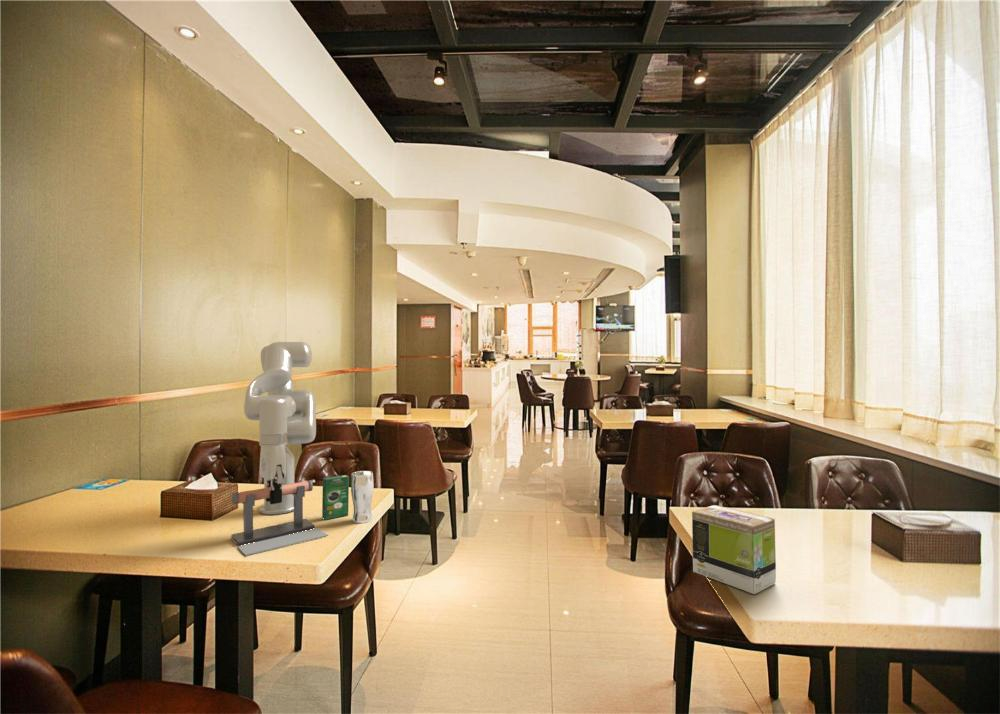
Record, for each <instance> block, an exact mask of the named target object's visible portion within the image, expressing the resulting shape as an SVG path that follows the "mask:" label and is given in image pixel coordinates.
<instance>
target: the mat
mask: <svg viewBox="0 0 1000 714" xmlns="http://www.w3.org/2000/svg"><path fill="white" fill-rule="evenodd" d="M326 536H328V537H329V534H327V533H326V532H325V531H323V530H321V529H320V528H318V527H317V528H316V527H315V529H312V530H307V531H303V532H298V533H294V534H290V535H285V536H281V537H277V538H272V539H268V540H263V541H259V542H255V543H250V544H246V545H242V546H238V545H237V549H238V550H239V551H240V552H241V553H242V554H243V555H244V557H249V556H253V555H257V554H261V553H265V552H270V551H273V550H278V549H281V548H287V547H290V546H289V545H291V546H294V545H293V544H295V545H297V544H296V543H299V544H301V543H300V542H303V543H305V542H304V541H307V542H309V541H308V540H311V541H313V540H312V539H315V540H319V539H323V538H322V537H324V538H327V537H326ZM318 538H319V539H318ZM286 546H287V547H286Z"/></svg>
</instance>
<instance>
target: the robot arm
mask: <svg viewBox="0 0 1000 714" xmlns="http://www.w3.org/2000/svg"><path fill="white" fill-rule="evenodd" d="M312 351H313V350H312V348H311V345H309V343H307V342H305V341H275V342H272V343H270V344H268V345H266V346H264V347H262V349H261V351H260V363H261V367H262V371H263V372H262V373H260V374H259V375H258V376H256V377H255V378H254V379H253V380H252V381H251V382H250V383H249V385H248V386H247V388H246V391H245V396H244V403H243V412H244V416H245V418H247V420H250V421H259V423H258V425H259V426H258V427H259V428H258V429H259V430H258V431H259V432H258V433H259V434H258V435H259V436H258V437H259V439H258V441H259V446H260V453H259V454H260V456H259V476H260V477H261V478H263V484H264V485H263V486H264V487H263V488H269V487H271V490H270V498H267V499H263V500H264V504H263V505H261V506H260V507H259V510H258V511H259V513H260V514H262V515H271V516H272V515H282V514H287V513H292V512H294V495H292V494H289V495H283V496H282V485H287V484H293V483H295V456H294V454H293V452H292V451H291V450H290V449H289V448H288V446H287V445H298V444H300V445H301V444H310V443H312V442H313V441H315V438H316V436H317V410H316V409H317V408H316V407H317V406H316V404H317V403H316V398H315V395H314V393H313V392H312V391H311V390H306V389H305V390H300V389H299V390H295V389H294V384H295V383H294V379H293V378H292V371H293V370H292V368H308V367H309V366H311V363H312V360H313V352H312ZM265 393H267V395H263V394H265ZM291 511H292V512H291Z"/></svg>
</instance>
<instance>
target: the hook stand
mask: <svg viewBox="0 0 1000 714" xmlns="http://www.w3.org/2000/svg"><path fill="white" fill-rule="evenodd" d="M245 491H246V490H245ZM245 491H243V492H245ZM292 495H294V511H293V520H292V521H288V522H284V523H280V524H274V525H270V526H265V527H261V528H255V529H254V507H255V506H256V505H255V504H256V500H255V494H250V495H246V502H244V503H241V504H242V505H243V509H242V510H243V511H242V512H243V531H241V532H237V533H231V535H230V537H231V538H232V539H233V540H234V541H235V542H236V543H237V544H236V543H235V542H234V541H233V540H232V539H231V538H230V539H231V540H232V541H233V542H234V543H235V544H236V545H237V547H238V546H241V545H244V544H248V543H253V542H259V541H263V540H268V539H272V538H277V537H281V536H285V535H289V534H293V533H297V532H302V531H305V530H310V529H313V528H315V529H316V526H315V524H314V523H312V522H311V521H309V520H307V518H304V517H303V516H304V513H303V512H304V506H303V505H304V503H303V498H305V495H306V494H305V486H304V485H303V486H297V493H295V494H292Z"/></svg>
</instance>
